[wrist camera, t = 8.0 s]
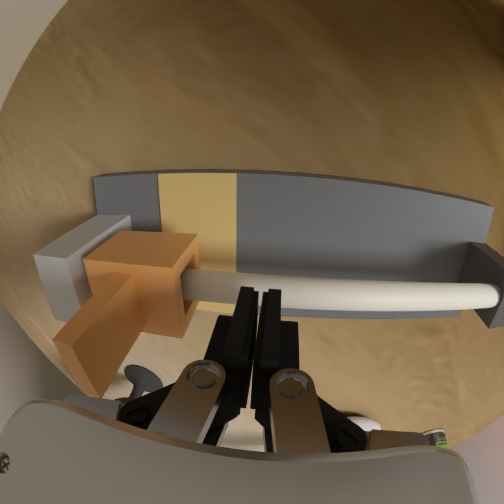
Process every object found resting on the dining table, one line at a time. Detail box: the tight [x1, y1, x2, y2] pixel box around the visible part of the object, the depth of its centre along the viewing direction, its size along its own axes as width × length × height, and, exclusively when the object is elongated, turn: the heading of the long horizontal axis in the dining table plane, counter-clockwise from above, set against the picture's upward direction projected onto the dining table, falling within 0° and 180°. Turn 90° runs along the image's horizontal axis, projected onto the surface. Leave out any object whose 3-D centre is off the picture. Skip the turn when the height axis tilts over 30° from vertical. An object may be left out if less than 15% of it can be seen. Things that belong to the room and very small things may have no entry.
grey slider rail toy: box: [33, 169, 504, 328], centre depth 15 cm, size 30×10×8 cm, turn 89°
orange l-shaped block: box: [53, 231, 200, 398], centre depth 12 cm, size 5×4×9 cm
